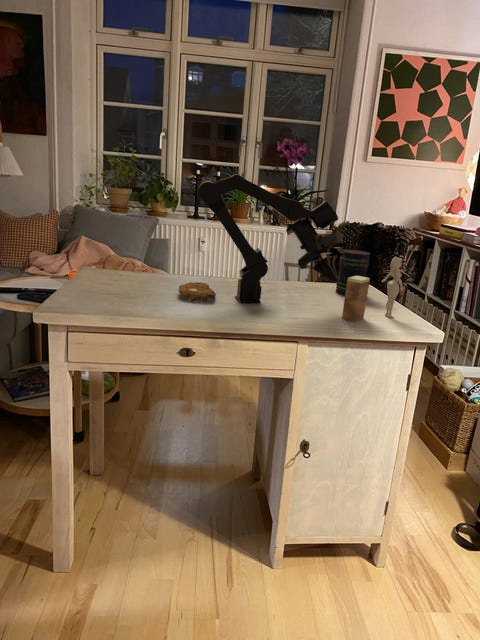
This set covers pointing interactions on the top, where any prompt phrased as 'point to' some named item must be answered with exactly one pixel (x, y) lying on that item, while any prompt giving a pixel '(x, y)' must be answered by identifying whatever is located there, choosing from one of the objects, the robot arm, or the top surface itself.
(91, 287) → the top surface
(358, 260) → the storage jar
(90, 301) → the top surface
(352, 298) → the walnut block
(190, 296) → the decorative rock
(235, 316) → the top surface
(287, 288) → the top surface
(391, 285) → the human figurine
